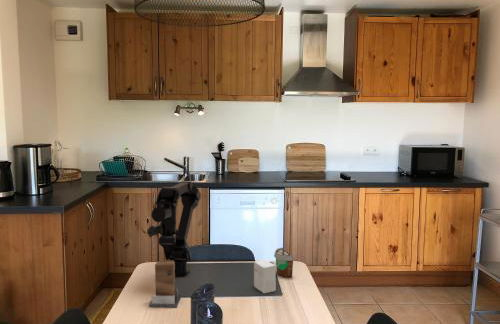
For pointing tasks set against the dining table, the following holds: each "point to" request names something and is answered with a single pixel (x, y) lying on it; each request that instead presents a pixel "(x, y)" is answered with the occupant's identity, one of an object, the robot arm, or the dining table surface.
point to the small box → (265, 276)
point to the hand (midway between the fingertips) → (168, 256)
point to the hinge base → (165, 300)
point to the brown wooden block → (165, 278)
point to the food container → (283, 263)
